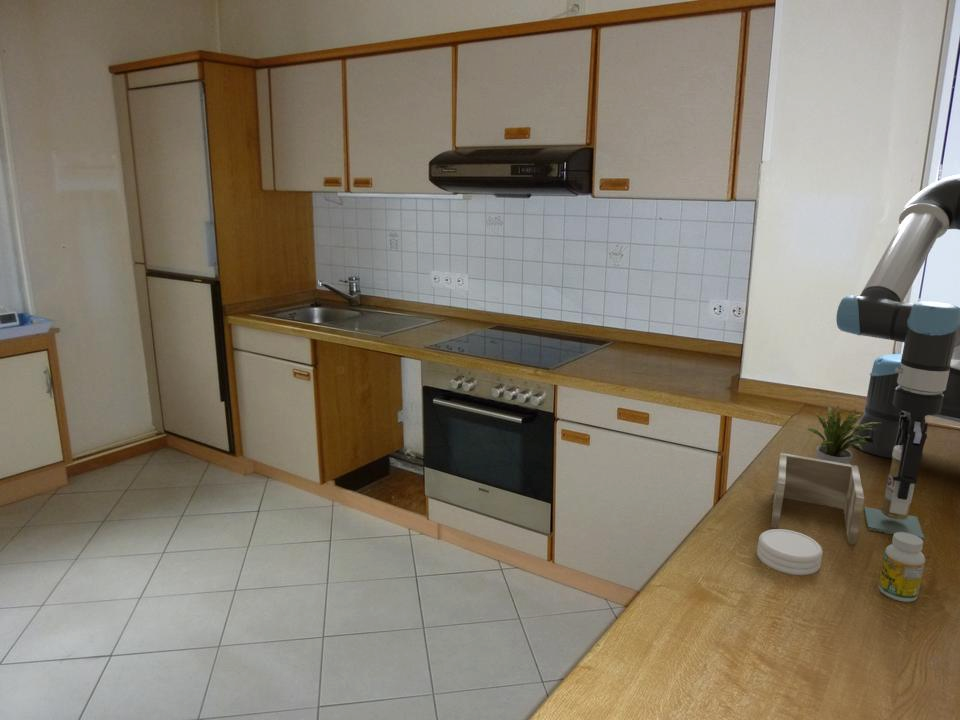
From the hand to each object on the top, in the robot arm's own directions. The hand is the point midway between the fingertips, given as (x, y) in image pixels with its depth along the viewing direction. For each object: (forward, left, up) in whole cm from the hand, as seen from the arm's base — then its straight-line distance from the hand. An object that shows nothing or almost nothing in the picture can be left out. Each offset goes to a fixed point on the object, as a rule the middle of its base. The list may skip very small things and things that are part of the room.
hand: (896, 506), depth 133 cm
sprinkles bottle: (0, 0, -2) cm, 2 cm away
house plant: (-17, -10, -4) cm, 20 cm away
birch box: (+4, -14, -4) cm, 15 cm away
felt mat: (0, 0, -4) cm, 4 cm away
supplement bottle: (+26, -2, -4) cm, 26 cm away
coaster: (+23, -18, -4) cm, 30 cm away
